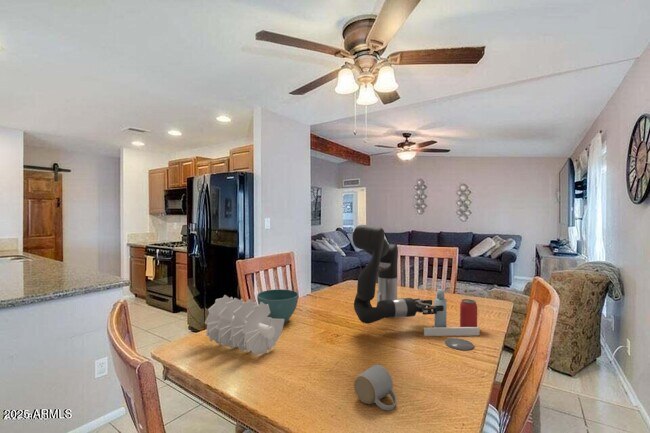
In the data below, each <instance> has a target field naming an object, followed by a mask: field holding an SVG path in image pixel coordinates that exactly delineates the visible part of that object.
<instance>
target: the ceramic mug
mask: <svg viewBox="0 0 650 433" xmlns="http://www.w3.org/2000/svg"><path fill="white" fill-rule="evenodd" d="M393 388H394V382H393V378H392V376H391V374H390V372H389V371H388V370H387V368H385V367H384V366H382V365H381V364H374V365H372V366H370V367H369V368H368V369H366V370H365V371H363V372H362V373H360V374H359V375H357V377H356V378H355V380H354V382H353V389H354V393H355V395H356V396H357V398H358V400H359V401H360V402H361V403H363V404H365V405H372V404H375V405H377V407H379V408H381V409H382V410H383V411H392V410H393V409H395V407H396V405H397V402H398V401H397V396H396V394H395V392H394V391H393ZM388 395H389V396H390V397H391V399H392V400H393V404H391V405H386V404H385V403H383V402H382V401H381V399H382V398H385V397H387V396H388Z"/></svg>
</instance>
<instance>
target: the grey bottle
mask: <svg viewBox="0 0 650 433" xmlns="http://www.w3.org/2000/svg"><path fill="white" fill-rule="evenodd" d="M438 305H442V306H444V310H443V311H437V314H434V326H433V327H447V298H445V289H443V288H436V297H435V298H434V306H438Z"/></svg>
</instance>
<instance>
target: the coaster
mask: <svg viewBox="0 0 650 433" xmlns="http://www.w3.org/2000/svg"><path fill="white" fill-rule="evenodd" d="M444 344H445V345H446V347H448V348H449V349H450V348H451V349H454V350H458V351H470V350H473V349H474V348H475V344H474V343H473V342H471V341H469V340H467V339H464V338H458V337H456V338H455V337H449V338H446V339H445V340H444Z"/></svg>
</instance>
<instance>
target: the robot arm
mask: <svg viewBox="0 0 650 433" xmlns="http://www.w3.org/2000/svg"><path fill="white" fill-rule="evenodd" d="M351 238H352V243H353V245H354V247H356V249H360V250H363V251H365V252H366V253H368V254H369V256H371V258H370V260H369V262H368V263H367V264H366V266H365V267H363V269H362V270H361V272H360V273H359V275H358V278H357V288H356V295H355V298H354V302H353V310H354V312H355V314H356V316H357V318H358V320H359V321H360V322H361V323H364V324H372V323H375V322H378V321H381V320H383V319H390V318H392V319H393V318H409V317H415V316H416V314H417V313H419V314H420V313H421V314H422V315H424V316H426V315H435V314H437V311H443V310H444V306H442V305H438V306H435V305H433V300H432V299H423V298H422V299H421V298H413V297H405V298H404V297H403V298H402V297H401V298H398V260H399V259H398V258H399V248H398V246H397V244H393V243H388V241H387V239H385V230H384V229H383V228H382V227H379V226H375V225H367V224H359V225H356V227H355V228H354V229H353V232H352V237H351ZM380 263H382V264H390V265H389V266H388V267H386V268H382V269H379V268H380ZM377 284H378V285H377ZM376 286H377V291H376ZM375 294H376V306H372V304H371V301H372V300H373V299H374V298H375Z"/></svg>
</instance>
